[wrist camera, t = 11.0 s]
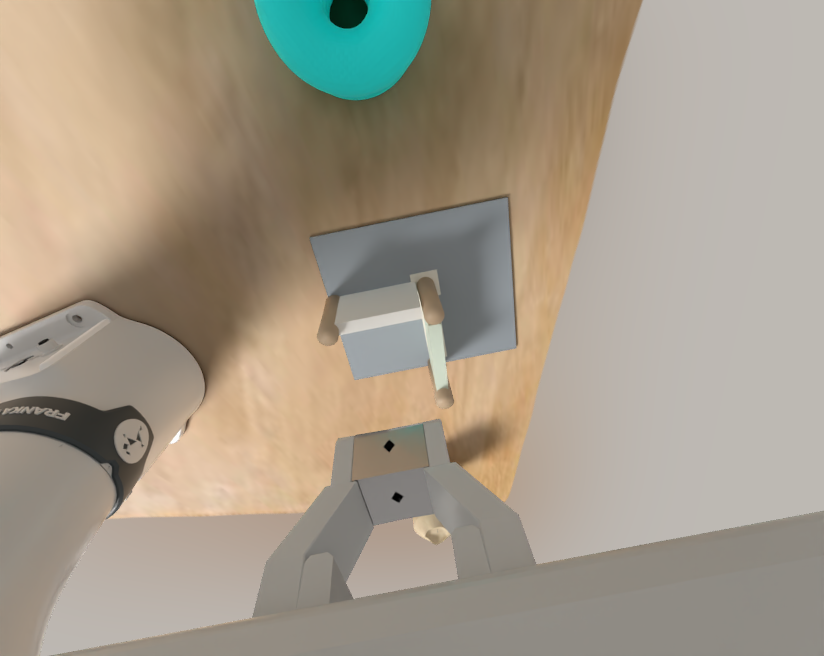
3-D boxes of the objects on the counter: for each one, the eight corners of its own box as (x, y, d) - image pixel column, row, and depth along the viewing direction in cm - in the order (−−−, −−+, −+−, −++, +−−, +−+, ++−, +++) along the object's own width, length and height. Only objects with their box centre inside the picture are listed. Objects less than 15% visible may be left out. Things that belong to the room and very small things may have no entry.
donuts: (338, 134, 24) (201, -38, 20) (348, 128, 33) (254, 8, 28) (470, 9, 22) (346, -217, 17) (443, 39, 30) (356, -107, 26)
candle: (443, 482, 55) (456, 551, 46) (405, 479, 54) (410, 550, 46) (452, 454, 53) (467, 522, 44) (412, 451, 52) (419, 520, 43)
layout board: (354, 378, 45) (354, 380, 45) (309, 237, 37) (309, 238, 36) (515, 346, 45) (516, 348, 44) (506, 196, 36) (508, 197, 36)
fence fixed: (328, 312, 40) (320, 347, 34) (323, 296, 40) (314, 330, 33) (435, 290, 40) (445, 322, 34) (432, 274, 39) (443, 304, 33)
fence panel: (418, 298, 40) (426, 331, 34) (435, 295, 40) (446, 328, 34) (428, 369, 45) (436, 410, 39) (443, 367, 45) (454, 407, 39)
